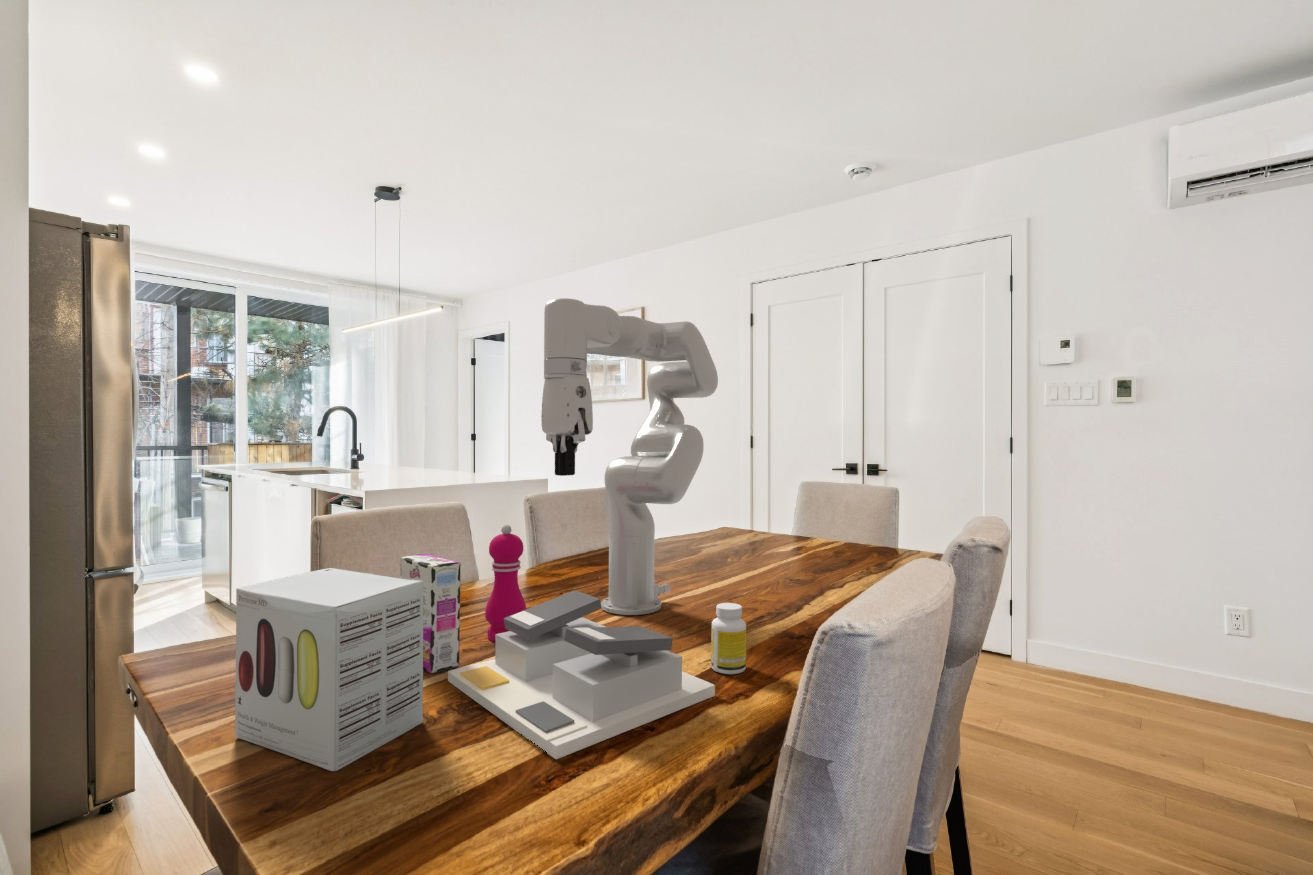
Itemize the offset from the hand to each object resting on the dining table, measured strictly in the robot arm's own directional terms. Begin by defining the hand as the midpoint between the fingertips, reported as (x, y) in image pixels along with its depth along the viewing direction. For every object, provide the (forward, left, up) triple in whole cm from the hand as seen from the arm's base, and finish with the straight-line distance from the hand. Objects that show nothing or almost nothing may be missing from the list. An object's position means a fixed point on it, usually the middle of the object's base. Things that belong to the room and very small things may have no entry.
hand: (564, 474), depth 110 cm
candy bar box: (+22, -5, -29) cm, 37 cm away
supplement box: (+40, +10, -29) cm, 51 cm away
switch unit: (+10, +19, -29) cm, 36 cm away
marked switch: (+9, +11, -21) cm, 25 cm away
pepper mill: (+7, -8, -29) cm, 31 cm away
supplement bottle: (-12, +28, -29) cm, 42 cm away
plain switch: (+9, +27, -21) cm, 35 cm away
